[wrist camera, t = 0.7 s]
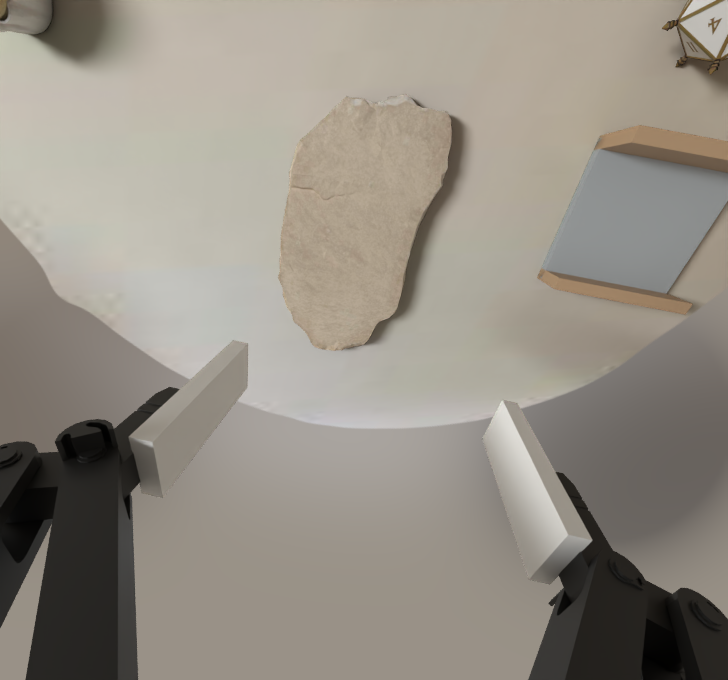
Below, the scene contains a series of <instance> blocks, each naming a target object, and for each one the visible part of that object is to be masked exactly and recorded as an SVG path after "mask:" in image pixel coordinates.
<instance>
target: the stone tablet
mask: <svg viewBox="0 0 728 680" xmlns="http://www.w3.org/2000/svg"><path fill="white" fill-rule="evenodd" d="M451 121H452V120H451V118H450V116H449V114H448V112H446V111H436V110H433V109H429V108H422V107H420V106H417V104H416V103H415V102H414V101H413V99H412V98H410V97H409V96H408V95H407V94H403V95H400V96H395V97H394V96H391V97H388V99H387V100H386V101H385V102H382V101H380V102H378V103H375V104H373V103H372V102H371V101H369V100H366V99H362V98H349V97H346V98H344V99H343V100H342V101H341V102H340V103H339V104H338V105H337V106H336V107H335V108H334V109H333V110H332V111H331V112H330V113H329V114H328V115H327V116H326V117H325V118H324V119H323V120H322V121H320V122H319V123H318V124H317V125H316V126H315V127H314V128H313V129H312V130H311V131H310V132H309V133H308V134H307V135H306V136H305V137H303V138H302V139H301V140H300V141H299V143H298V145H297V147H296V150H295V154H294V158H293V162H292V165H291V169H290V172H289V177H290V184H289V194H288V197H287V205H286V208H285V215H284V219H283V226H282V233H281V255H280V272H279V275H278V279H279V281H280V283H281V285H282V288H283V297H284V299H285V303H286V306H287V308H288V309H289V311H290V312H291V314H292V316H293V321H294V322H295V323H296V324H298V325H299V326H300V327H301V328H302V329H303V330H304V331H305V332H306V333H307V335H308V337H309V339H310V341H311V343H312V345H314V346H315V347H316V348H319V349H324V350H332V351H336V350H343V349H345V348H350V347H354V346H361V345H364V344H365V343H366V342H367V341H368V340H369V338H370V336H371V334H372V332H373V330H374V328H375V327H376V325H377V323H378V322H379V321H382V320H385V319H388V318H390V317H391V315H393V314H395V312H396V310H397V307H398V303H399V300H400V297H401V294H402V289H403V284H404V283H405V279H406V274H405V272H406V269H407V264H408V261H409V257H410V253H411V248H412V246H413V244H414V240H415V238H416V234H417V231H418V227H419V225H420V223H421V221H422V219H423V218H424V216H425V214H426V211H427V209H428V208H429V206H430V204H431V202H432V201H433V199H434V198H435V196H436V195H437V193H438V192H439V190H440V189H441V188H442V186H443V179H444V177H445V174H446V172H447V169H448V154H449V150H450V147H451V143H452V127H451Z"/></svg>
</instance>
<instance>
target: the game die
mask: <svg viewBox="0 0 728 680" xmlns="http://www.w3.org/2000/svg"><path fill="white" fill-rule="evenodd" d="M674 26H677V30H678V33H679V36H680V39H681V43H682V46H683V49H684V52H685V56H683V57H681V58H680V60H678V61H677V64H676V67H677V66H680V65H683V63H684V62H686V60H687V58H694V59H700V60H706V61H712V62H713V64H711V65H710V68H709V69H708V71H709V74H710V75H711V74H712V73H713V72H714V71H715V70H718V66H719V62H720V61H723V60H726V59H728V0H688V1H687V3H686V5H685V7H684V8H683V10H682V12H681V14H680V15H679V17H678V19H677V20H676V21H675V20H672V21H671V22H670V21H668V22H667V24H666V25H665V26H664V27H663V28H662V29H665V30H667V31H668V30H669V29H672V28H673V27H674Z"/></svg>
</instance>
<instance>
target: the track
mask: <svg viewBox="0 0 728 680" xmlns="http://www.w3.org/2000/svg"><path fill="white" fill-rule="evenodd" d="M727 201H728V141H723V140H717V139H712V138H707V137H701V136H696V135H690V134H685V133H680V132H674V131H669V130H663V129H658V128H653V127H647V126H642V125H639V126H635V127H631V128H628V129H624V130H620V131H616V132H613V133H609V134H605V135H601V136H600V137H599V140H598V142H597V144H596V146H595V149H594V151H593V153H592V155H591V158H590V160H589V162H588V164H587V167H586V169H585V171H584V173H583V176H582V178H581V180H580V183H579V185H578V187H577V189H576V192H575V194H574V196H573V198H572V201H571V203H570V205H569V207H568V210H567V212H566V214H565V216H564V219H563V221H562V223H561V225H560V228H559V230H558V232H557V234H556V237H555V239H554V241H553V243H552V246H551V248H550V250H549V252H548V255H547V257H546V259H545V261H544V264H543V266H542V268H541V270H540V273H539V275H538V277H537V278H538V279H540V280H541V281H543V282H544V283H546V284H547V285H549V286H551V287H552V288H554V289H557V290H562V291H567V292H572V293H578V294H583V295H588V296H593V297H598V298H603V299H608V300H613V301H619V302H624V303H629V304H634V305H639V306H644V307H649V308H655V309H660V310H665V311H670V312H675V313H680V314H686V313H687V312H688V310H689V309H690V307H691V306H692V305H693V304H692V303H689V302H687V301H684V300H681V299H679V298H676V297H674V296H671V295H669V294H666V293H667V292H668V290H669V289H670V287H671V286H672V284H673V283H674V281H675V280H676V278H677V277H678V275H679V274H680V272H681V271H682V269H683V268H684V266H685V265H686V263H687V262H688V260H689V259H690V257H691V256H692V254H693V253H694V251H695V250H696V248H697V247H698V245H699V244H700V242H701V241H702V239H703V238H704V236H705V234H706V233H707V231H708V230H709V228H710V227H711V225H712V224H713V222H714V221H715V219H716V218H717V216H718V215H719V213H720V212H721V210H722V209H723V207H724V206H725V204H726V203H727Z"/></svg>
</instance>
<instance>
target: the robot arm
mask: <svg viewBox="0 0 728 680" xmlns="http://www.w3.org/2000/svg"><path fill="white" fill-rule="evenodd" d="M247 381H248V343H243V342H239V341H234V340H233V341H232V342H231V343H230V344H229V345H228V346H226V347H225V348H224V349H223V350H222V351H221V352H220V353H219V354H218V355H217V356H216V357H215V358H213V359H212V360H211V361H210V362H209V363H208V364H207V365H206V366H205V367H204V368H203V369H202V370H200V371H199V372H198V373H197V374H196V375H195V376H194V377H193V378H192V379H191V380H190V381H189V382H187V383H186V384H185V385H184V386H183V387H182V388H181V389H177V388H172V387H169V388H167V389H165V390H163V391H160V392H158V393H156V394H155V395H154V396H152V397H151V398H150V399H149V400H148V401H147V402H146V403H145V404H143V405H142V406H141V407H139V408H138V410H137V411H135V412H134V413H132V414H131V415H130V416H129V417H128V418H127V419H125V420H124V421H123V422H122V423H121V424H119V425H118V426H117V427H116V428H115V429H113V426H112V424H111V423H110V422H108V421H106V420H99V419H96V420H87V421H83V422H80V423H77V424H74V425H73V426H71V427H69V428H67V429H65V430H64V431H63V432H62V433H61V434H59V435H58V437H57V439H56V441H55V444H56V446H57V449H58V451H59V452H49V453H38V451H37V448H36V447H35V445H34V444H32V443H29V442H13V443H8V444H4V445H1V446H0V627H1V626H2V624H3V622H4V620H5V617H6V616H7V613H8V611H9V609H10V607H11V605H12V603H13V601H14V599H15V597H16V595H17V593H18V591H19V589H20V587H21V585H22V583H23V581H24V579H25V577H26V575H27V573H28V571H29V569H30V566H31V564H32V562H33V560H34V558H35V556H36V554H37V552H38V550H39V548H40V546H41V544H42V542H43V540H44V538H45V536H46V534H47V532H48V530H49V528H50V526H51V524H52V527H51V533H50V538H49V544H48V551H47V556H46V562H45V568H44V574H43V580H42V586H41V592H40V597H39V604H38V609H37V615H36V621H35V627H34V633H33V639H32V645H31V651H30V657H29V663H28V668H27V674H26V680H138V665H137V637H136V606H135V578H134V547H133V521H132V520H133V519H132V518H133V517H132V496H131V492H132V490H133V489H134V488H135V487H136V486H137V485H138V484H139V483H140V487H141V492H142V493H143V494H148V495H152V496H157V497H161V498H163V497H164V496H165V495H166V493H167V492H168V491H169V489H170V488H171V487H172V486H173V484H174V483H175V481H176V480H177V479H178V478H179V476H180V475H181V474H182V472H183V471H184V470H185V468H186V467H187V466H188V465H189V463H190V462H191V461H192V459H193V458H194V457H195V455H196V454H197V453H198V451H199V450H200V449H201V447H202V446H203V445H204V443H205V442H206V441H207V440H208V438H209V437H210V436H211V434H212V433H213V432H214V430H215V429H216V428H217V426H218V425H219V424H220V422H221V421H222V420H223V418H224V417H225V416H226V414H227V413H228V412H229V411H230V409H231V408H232V406H233V405H234V404H235V403H236V401H237V400H238V399H239V397H240V396H241V395H242V393H243V392H244V391H245V390H246V388H247ZM482 440H483V443H484V446H485V449H486V452H487V455H488V458H489V461H490V464H491V467H492V470H493V473H494V476H495V479H496V482H497V485H498V488H499V491H500V494H501V498H502V500H503V503H504V507H505V509H506V513H507V515H508V518H509V521H510V525H511V528H512V531H513V534H514V537H515V540H516V543H517V546H518V549H519V552H520V555H521V558H522V561H523V564H524V567H525V570H526V573H527V576H528V579H529V580H532V581H537V582H541V583H546V584H551V583H552V582H553V581H554V580H555V579H556V578H557V577H558V576H559V577H560V579H561V582H562V584H563V586H564V588H563V589H562V590H561V591H560V592H559V593H558V594H557V595H556V596H555V597H554V598H553V599H552V600H551V601H550V602H549V604H550V605H551V606H553V605H554V604H555V606H554V609H553V612H552V614H551V617H550V620H549V623H548V626H547V629H546V631H545V634H544V637H543V640H542V643H541V645H540V648H539V651H538V654H537V657H536V660H535V662H534V666H533V668H532V671H531V674H530V677H529V679H528V680H728V619H727V618H726V617H725V616H724V614H723V613H722V612H721V611H720V610H719V609H718V608H717V607H716V606H715V605H714V604H713V603H712V602H710V601H709V600H708V599H706V598H705V597H704V596H702V595H701V594H699V593H697V592H695V591H693V590H691V589H688V588H680V589H679V590H677V591H676V592H675V593H673V594H671V593H669V592H667V591H665V590H663V589H662V588H659V587H658V586H656V585H654V584H652V583H650V582H648V581H646V580H645V579H644V577H643V575H642V574H641V573H640V572H639V570H638V569H637V568H636V567H635V566H634V565H633V564H632V563H631V562H630V561H629V560H628V559H626V558H625V557H624V556H622V555H620V554H618V553H617V552H615V551H613V550H612V548H611V547H610V545H609V544H608V542H607V540H606V538H605V537H604V535H603V533H602V531H601V530H600V528H599V527H598V525H597V523H596V521H595V520H594V518H593V516H592V515H591V513H590V512H589V511H588V508H587V506H586V504H585V503H584V501H583V500H582V497H581V496H580V494H579V492H578V491H577V489H576V487H575V486H574V484H573V483H572V482H571V481H570V480H569V479H568V478H567V477H566V476H565V475H564V474H563V473H559V472H555V471H554V469H553V467H552V466H551V464H550V462H549V460H548V458H547V456H546V454H545V453H544V451H543V449H542V447H541V445H540V444H539V442H538V440H537V438H536V436H535V434H534V433H533V431H532V429H531V427H530V425H529V424H528V422H527V420H526V418H525V416H524V414H523V413H522V411H521V409H520V407H519V405H518V403H515V402H510V401H506V400H502V402H501V404H500V405H499V407H498V409H497V411H496V413H495V415H494V417H493V419H492V421H491V423H490V425H489V427H488V429H487V431H486V433H485V434H484V436H483V438H482Z"/></svg>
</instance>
